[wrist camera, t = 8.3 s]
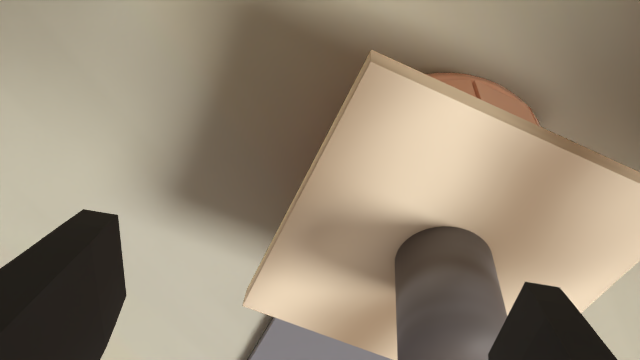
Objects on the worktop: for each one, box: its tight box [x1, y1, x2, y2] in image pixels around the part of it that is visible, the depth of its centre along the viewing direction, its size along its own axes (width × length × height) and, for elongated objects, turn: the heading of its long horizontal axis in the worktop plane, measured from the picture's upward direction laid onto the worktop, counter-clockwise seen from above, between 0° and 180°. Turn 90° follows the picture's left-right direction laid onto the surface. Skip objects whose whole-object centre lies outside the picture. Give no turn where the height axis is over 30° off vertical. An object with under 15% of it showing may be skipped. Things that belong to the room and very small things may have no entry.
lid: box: [243, 50, 640, 360], centre depth 16 cm, size 10×10×4 cm
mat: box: [248, 317, 392, 360], centre depth 27 cm, size 11×11×1 cm
